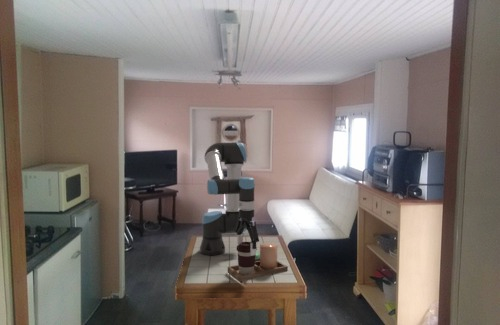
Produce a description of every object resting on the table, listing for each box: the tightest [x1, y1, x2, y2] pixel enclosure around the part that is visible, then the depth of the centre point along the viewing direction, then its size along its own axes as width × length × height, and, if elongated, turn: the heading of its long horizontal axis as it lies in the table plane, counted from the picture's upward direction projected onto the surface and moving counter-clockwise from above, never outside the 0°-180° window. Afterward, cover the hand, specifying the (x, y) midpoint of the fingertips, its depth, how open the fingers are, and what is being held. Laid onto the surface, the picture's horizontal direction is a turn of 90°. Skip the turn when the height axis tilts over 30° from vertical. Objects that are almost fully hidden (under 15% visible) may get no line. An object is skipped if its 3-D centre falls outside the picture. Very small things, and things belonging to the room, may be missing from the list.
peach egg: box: [259, 242, 279, 270], centre depth 198 cm, size 9×9×12 cm
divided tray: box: [227, 260, 289, 284], centre depth 195 cm, size 14×27×3 cm, turn 119°
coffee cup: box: [236, 241, 258, 275], centre depth 191 cm, size 10×10×15 cm
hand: (246, 251), depth 191 cm, fingers open, 13 cm apart
